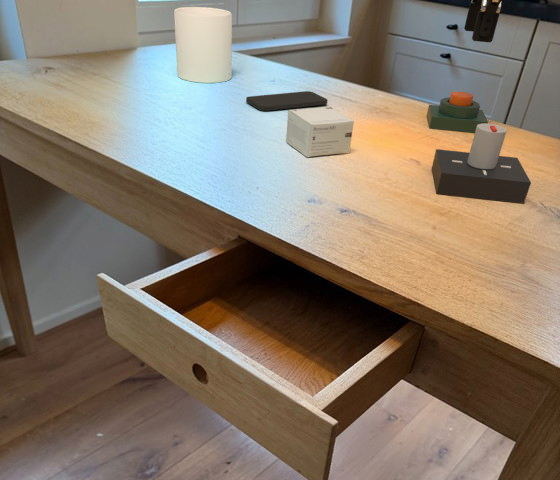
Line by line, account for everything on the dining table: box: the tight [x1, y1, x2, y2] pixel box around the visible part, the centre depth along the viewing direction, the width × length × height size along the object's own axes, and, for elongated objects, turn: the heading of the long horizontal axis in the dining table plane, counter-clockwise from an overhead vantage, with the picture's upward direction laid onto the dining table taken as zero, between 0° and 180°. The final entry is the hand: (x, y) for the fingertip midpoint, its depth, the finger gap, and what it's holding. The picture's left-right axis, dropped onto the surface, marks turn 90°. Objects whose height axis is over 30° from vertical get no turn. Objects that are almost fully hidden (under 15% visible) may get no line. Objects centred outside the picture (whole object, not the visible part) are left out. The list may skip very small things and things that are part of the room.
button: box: [449, 91, 474, 106], centre depth 102 cm, size 4×4×2 cm
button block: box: [426, 97, 489, 134], centre depth 104 cm, size 10×8×4 cm
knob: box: [467, 122, 508, 169], centre depth 78 cm, size 4×4×5 cm
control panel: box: [431, 149, 532, 204], centre depth 81 cm, size 12×10×3 cm
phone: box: [245, 90, 328, 112], centre depth 109 cm, size 7×1×15 cm
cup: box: [173, 6, 233, 84], centre depth 118 cm, size 12×12×12 cm
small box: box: [285, 106, 355, 158], centre depth 89 cm, size 8×8×5 cm
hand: (477, 36), depth 95 cm, fingers open, 9 cm apart
